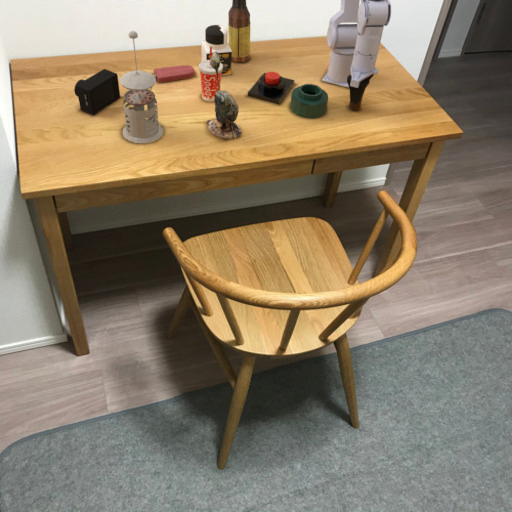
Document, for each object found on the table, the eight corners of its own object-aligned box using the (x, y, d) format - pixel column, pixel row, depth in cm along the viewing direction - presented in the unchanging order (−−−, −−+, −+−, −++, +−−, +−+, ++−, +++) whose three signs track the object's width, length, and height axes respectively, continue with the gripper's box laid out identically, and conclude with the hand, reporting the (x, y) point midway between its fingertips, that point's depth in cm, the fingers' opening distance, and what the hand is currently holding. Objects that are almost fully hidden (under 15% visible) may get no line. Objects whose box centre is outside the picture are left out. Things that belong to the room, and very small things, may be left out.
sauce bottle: (250, 54, 167) (254, -15, 153) (248, 64, 163) (252, -6, 149) (228, 52, 168) (230, -18, 153) (226, 62, 163) (227, -9, 149)
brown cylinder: (350, 103, 152) (355, 80, 147) (361, 106, 151) (366, 83, 146) (347, 109, 150) (352, 85, 145) (358, 112, 149) (363, 88, 144)
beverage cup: (194, 98, 149) (193, 48, 139) (206, 88, 153) (206, 38, 142) (214, 105, 147) (215, 55, 137) (226, 95, 151) (227, 45, 141)
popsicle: (138, 70, 154) (191, 63, 158) (138, 75, 155) (191, 68, 160) (142, 80, 151) (196, 72, 155) (143, 85, 152) (196, 77, 156)
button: (267, 76, 154) (268, 70, 153) (281, 79, 153) (282, 73, 152) (262, 82, 151) (262, 76, 150) (276, 86, 150) (276, 80, 149)
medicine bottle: (206, 76, 157) (206, 35, 148) (201, 64, 162) (200, 22, 153) (231, 74, 159) (232, 33, 150) (225, 62, 163) (226, 21, 155)
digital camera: (104, 91, 149) (100, 66, 144) (120, 97, 147) (117, 73, 142) (76, 108, 142) (71, 83, 137) (93, 115, 141) (88, 90, 136)
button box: (264, 76, 159) (264, 66, 157) (294, 84, 157) (295, 74, 155) (247, 96, 151) (248, 86, 149) (278, 104, 149) (279, 94, 147)
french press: (117, 140, 134) (102, 39, 116) (131, 114, 142) (119, 15, 124) (157, 145, 134) (149, 44, 116) (169, 119, 142) (163, 20, 124)
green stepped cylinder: (297, 95, 153) (299, 77, 149) (330, 104, 151) (333, 85, 147) (285, 112, 147) (287, 93, 143) (319, 122, 145) (322, 103, 141)
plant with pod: (211, 147, 135) (212, 69, 120) (205, 120, 142) (204, 44, 128) (245, 144, 136) (249, 67, 122) (236, 118, 144) (239, 43, 129)
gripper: (375, 67, 133) (363, 117, 143) (389, 41, 142) (377, 90, 152) (346, 60, 134) (337, 109, 144) (362, 35, 144) (352, 83, 154)
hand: (356, 99), depth 148 cm, fingers closed on brown cylinder, 3 cm apart
